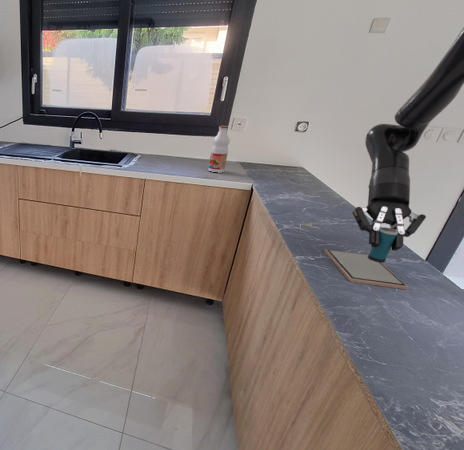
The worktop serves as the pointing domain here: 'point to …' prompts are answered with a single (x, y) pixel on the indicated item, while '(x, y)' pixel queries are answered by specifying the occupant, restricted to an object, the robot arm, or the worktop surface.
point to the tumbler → (383, 245)
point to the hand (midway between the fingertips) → (385, 247)
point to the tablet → (364, 269)
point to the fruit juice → (219, 151)
